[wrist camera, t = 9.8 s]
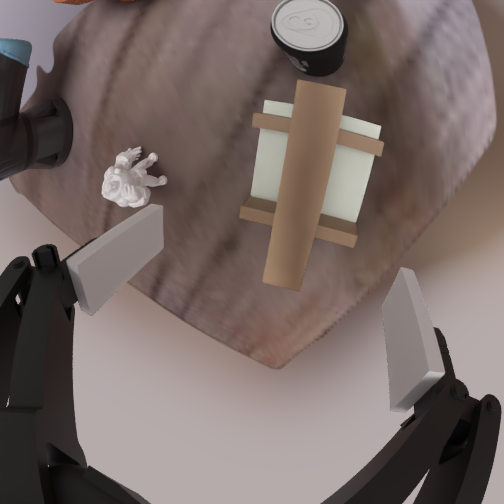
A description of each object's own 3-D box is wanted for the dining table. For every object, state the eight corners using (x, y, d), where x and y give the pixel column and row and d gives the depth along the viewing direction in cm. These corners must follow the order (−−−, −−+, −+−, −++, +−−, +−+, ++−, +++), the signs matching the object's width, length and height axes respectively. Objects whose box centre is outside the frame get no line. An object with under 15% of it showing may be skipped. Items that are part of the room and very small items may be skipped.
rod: (274, 254, 34) (262, 281, 29) (304, 87, 23) (297, 79, 18) (305, 263, 33) (299, 291, 28) (343, 95, 23) (346, 89, 18)
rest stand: (249, 216, 38) (237, 230, 34) (266, 100, 30) (256, 97, 25) (348, 241, 35) (349, 260, 31) (379, 125, 27) (387, 127, 23)
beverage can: (344, 79, 26) (351, 58, 16) (289, 76, 27) (267, 55, 17) (342, 31, 23) (345, -8, 12) (288, 30, 24) (265, -8, 14)
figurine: (189, 169, 37) (137, 194, 27) (178, 198, 40) (128, 231, 30) (136, 142, 37) (79, 159, 27) (129, 171, 40) (75, 194, 30)
